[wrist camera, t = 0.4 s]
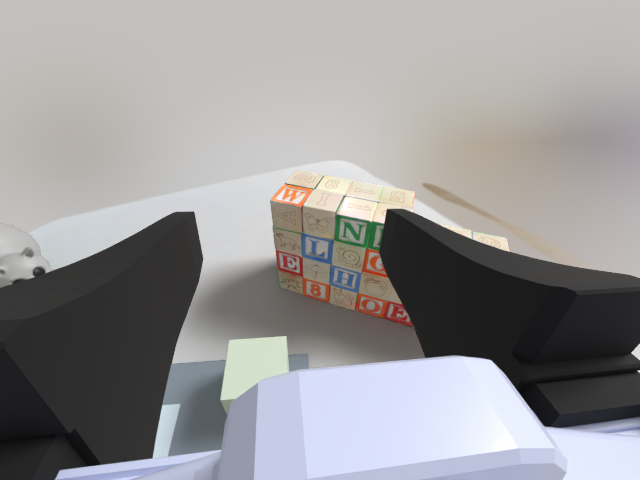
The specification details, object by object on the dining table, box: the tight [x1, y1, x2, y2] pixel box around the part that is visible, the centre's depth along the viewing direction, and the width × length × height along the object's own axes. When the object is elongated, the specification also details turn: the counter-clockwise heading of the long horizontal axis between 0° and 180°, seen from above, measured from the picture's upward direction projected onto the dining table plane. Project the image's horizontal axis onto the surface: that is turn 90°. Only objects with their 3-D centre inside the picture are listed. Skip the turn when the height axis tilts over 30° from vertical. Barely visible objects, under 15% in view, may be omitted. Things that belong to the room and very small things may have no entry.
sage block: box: [220, 336, 289, 414], centre depth 23 cm, size 4×4×4 cm
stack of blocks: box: [270, 170, 509, 328], centre depth 30 cm, size 21×6×12 cm, turn 71°
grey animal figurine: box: [0, 223, 53, 288], centre depth 29 cm, size 7×12×8 cm, turn 64°
